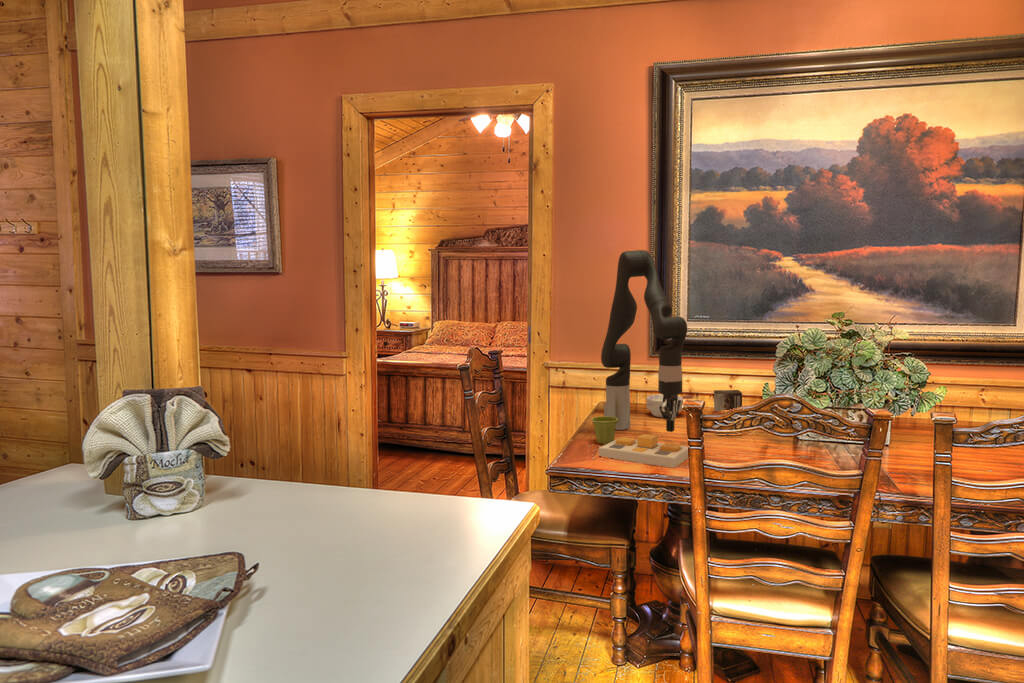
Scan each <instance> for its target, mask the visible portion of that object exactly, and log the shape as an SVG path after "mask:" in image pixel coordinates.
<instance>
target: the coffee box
mask: <svg viewBox="0 0 1024 683" xmlns="http://www.w3.org/2000/svg"><path fill="white" fill-rule="evenodd" d="M713 398H714V400H713V402H714V403H713V405H714V406H713V408H714V410H713V411H722V410H730V409H733V408H737V407H741V406H742V407H743V392H741V390H739V389H720V390H718V389H717V390H714V391H713ZM738 433H744V432H738ZM738 433H715V435H717V434H726V435H729V434H738Z"/></svg>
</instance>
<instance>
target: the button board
mask: <svg viewBox="0 0 1024 683" xmlns="http://www.w3.org/2000/svg"><path fill="white" fill-rule="evenodd" d="M617 439H618V438H617ZM617 439H614V441H612V442H610V443H608V444H603V445H602V446H600V447H598V457H599V456H603V457H608V458H607V459H610V458H613V459H612V460H617V459H618V460H619V461H623V462H624V461H625V462H631V463H637V464H638V463H639V464H643V465H644V464H645V465H652V466H656V467H657V466H658V467H659V466H660V467H665V468H672V469H675V468H676V467H677V466H679V465H681V464H683V462H685V461H686V460H688V459H689V458H688V447H687V445H681V450H679V451H677V452H670V451H663V450H660V446H661V445H663V444H665V443H666V442H665V443H664V442H658V445H656V446H654V447H652V448H649V447H642V446H638V444H637V439H636V443H635V444H633V445H631V446H625V445H618V444H616V440H617ZM603 457H602V458H603ZM618 460H617V461H618Z"/></svg>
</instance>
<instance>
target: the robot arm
mask: <svg viewBox="0 0 1024 683" xmlns="http://www.w3.org/2000/svg"><path fill="white" fill-rule="evenodd" d="M616 271H617V272H616V281H615V289H614V294H613V299H612V303H611V310H610V314H609V320H608V326H607V330H606V334H605V339H604V340H603V344H602V349H601V354H600V361H601V362H600V363H601V365H602V366H603V367H604V368H607V369H613V368H614V369H615V368H618V370H617V371H616V372H615V373H614V374H611V375H608V376H607V377H606V378H605V398H606V399H605V403H604V404H603V405H604V408H603V410H604V412H603V413H604V414H603V415H604V416H608V417H615V418H617V419H618V421H617V423H616V426H615V429H616V430H615V431H623V430H624V431H625V429H626V430H629V429H631V398H630V397H631V395H630V394H631V392H630V391H631V390H630V388H631V384H630V381H631V380H630V379H631V363H632V362H631V359H632V358H631V357H632V356H631V348H630V346H629V345H628V344H627V343H618V341H619V340H620V339H621V338H622V337H623V336H624V334H626V333H627V332H628V330H630V329H631V327H632V326H633V324H634V322H635V321H636V315H637V310H638V304H637V301H636V299H635V298H634V296H633V295H634V294H633V293H632V292H631V289H630V288H629V282H630V279H631V278H639V277H644V278H645V279H646V281H647V283H646V288H645V290H644V294H643V298H644V299H643V300H644V303H645V306H646V307H647V309H648V312H649V314H650V317H651V321H652V331H653V334H654V336H655V337H656V338H658V339H659V340H671V341H670V342H669V344H667V345H665V346H662V347H660V348H659V351H658V362H659V363H658V372H657V373H658V375H657V376H658V377H657V378H658V380H657V381H658V390H657V392H658V393H659V394H663V400H662V404H663V406H660V407H659V409H660V412H661V414H662V417H661V418H662V419H663V420H665V421H666V426H665V428H666V432H669V433H670V432H671V433H672V432H674V431H675V420H676V419H677V418H676V417H678V415H679V412H680V411H679V408H680V404H681V400H678V396H679V395H681V394H682V393H683V367H682V366H683V365H682V354H683V348H684V344H685V341H686V337H687V335H688V324H687V321H686V319H685V318H684V317H682V316H671V315H672V312H673V308H672V306H671V303H670V302H669V300H668V298H667V295H666V294H665V292H664V290H663V288H662V285H661V282H660V281H661V280H660V279H659V275H658V272H657V271H658V270H657V268H656V265H655V263H654V260H653V257H652V254H650V252H649V251H648V250H645V249H639V250H626V251H623V252H621V254H620V255H619V257H618V262H617V270H616Z"/></svg>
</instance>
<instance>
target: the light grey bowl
mask: <svg viewBox="0 0 1024 683" xmlns="http://www.w3.org/2000/svg"><path fill="white" fill-rule="evenodd" d="M645 399H646V409H647V410H648V411H650V413H651V415H652V416H654V417H657V418H663V417H662V414H661V412H660V409H659V407H660V406H663V404H662V400H663V394H660V393H659V394H652V395H651V394H650V395H647V397H646V398H645ZM678 400H681V404H680V408H679V412H680V411H683V409H682V405H683V406H684V398H683V397H682V396H679V395H678Z"/></svg>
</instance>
